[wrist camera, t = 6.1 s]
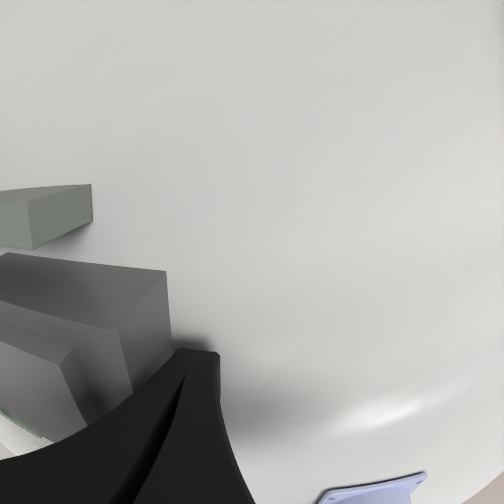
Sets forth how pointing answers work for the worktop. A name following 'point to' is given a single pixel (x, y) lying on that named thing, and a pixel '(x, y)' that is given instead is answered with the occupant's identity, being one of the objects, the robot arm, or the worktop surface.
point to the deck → (41, 231)
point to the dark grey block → (77, 338)
